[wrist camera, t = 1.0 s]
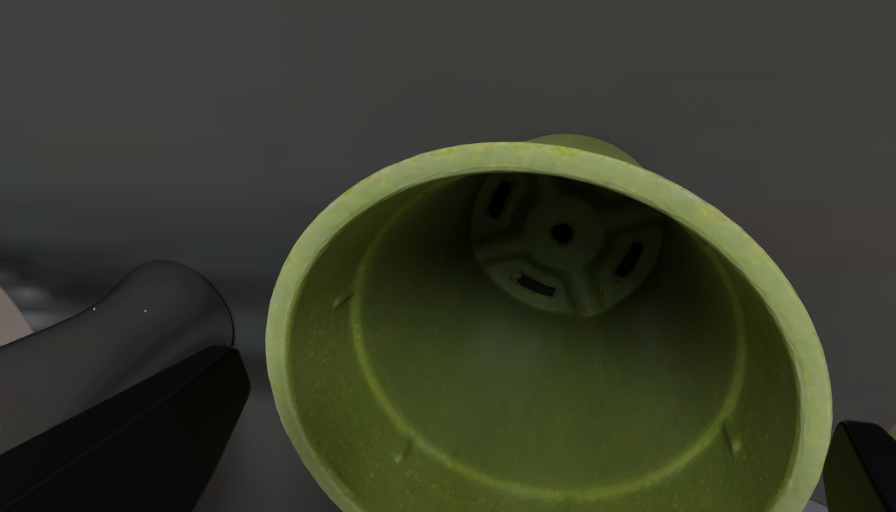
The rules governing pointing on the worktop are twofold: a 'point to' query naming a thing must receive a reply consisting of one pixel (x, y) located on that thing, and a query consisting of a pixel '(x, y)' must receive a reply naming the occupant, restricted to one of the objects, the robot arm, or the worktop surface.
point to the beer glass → (107, 348)
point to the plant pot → (543, 344)
